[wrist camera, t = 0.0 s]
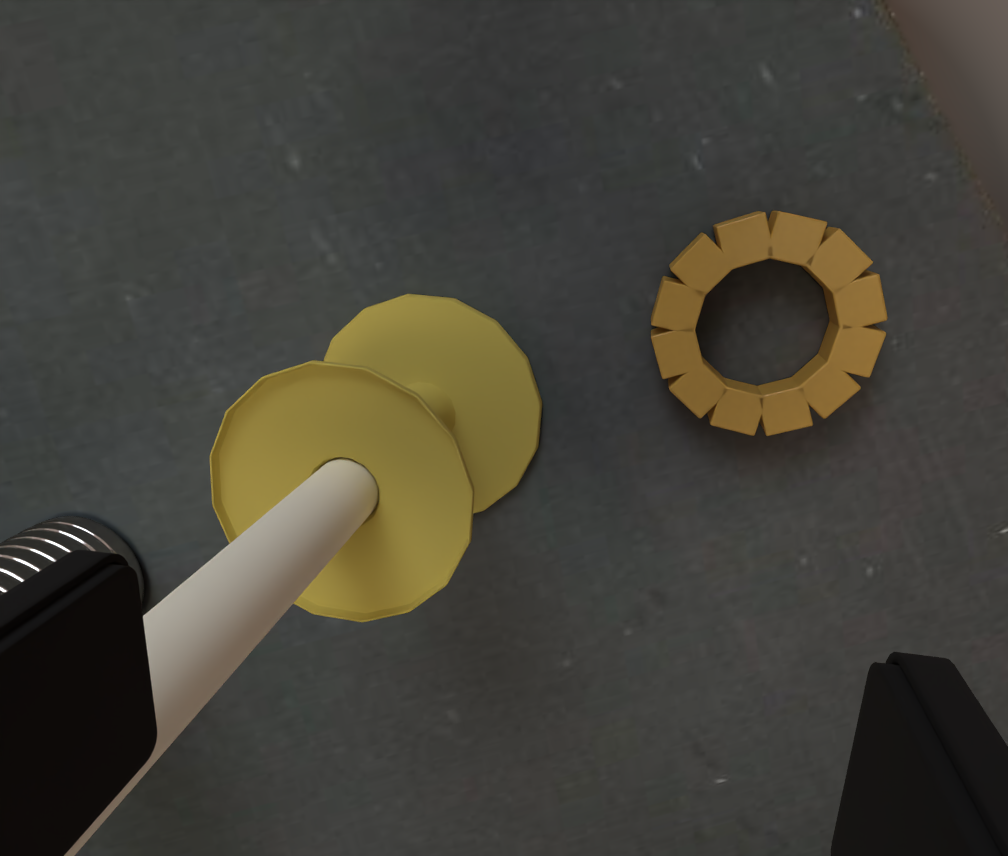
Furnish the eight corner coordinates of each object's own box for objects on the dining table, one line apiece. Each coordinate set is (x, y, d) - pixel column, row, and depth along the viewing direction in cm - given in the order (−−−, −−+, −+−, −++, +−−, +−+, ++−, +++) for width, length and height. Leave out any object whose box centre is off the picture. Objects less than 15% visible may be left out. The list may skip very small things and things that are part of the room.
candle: (466, 247, 30) (-582, 550, 4) (585, 461, 31) (330, 1573, 6) (274, 362, 33) (-1020, 941, 7) (392, 552, 34) (-323, 1554, 9)
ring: (767, 164, 27) (774, 162, 25) (921, 318, 27) (937, 325, 26) (609, 325, 30) (607, 331, 28) (752, 462, 30) (758, 476, 29)
